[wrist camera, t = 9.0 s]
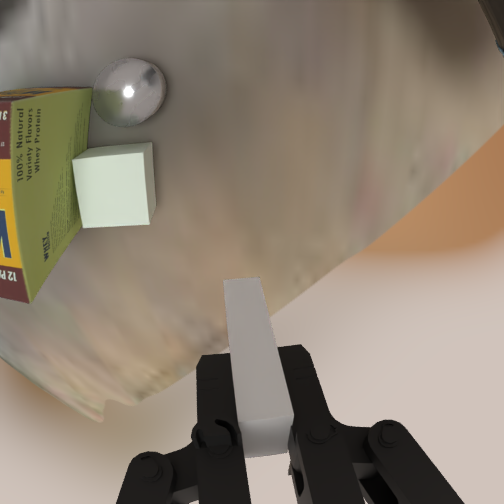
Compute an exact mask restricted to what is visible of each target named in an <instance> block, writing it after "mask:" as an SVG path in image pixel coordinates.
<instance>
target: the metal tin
mask: <svg viewBox="0 0 504 504" xmlns="http://www.w3.org/2000/svg"><path fill="white" fill-rule="evenodd" d="M165 96H166V81H165V78H164V75H163V74H162V72H161V71H160V69H159V68H158V67H156V66H155V65H154V64H152V63H150V62H147V61H143V60H140V59H135V58H124V59H120V60H117V61H114V62H112V63H111V64H109V65H108V66H106V67H105V68H104V69H103V70H102V71H101V73H100V74H99V75H98V77H97V79H96V81H95V83H94V87H93V92H92V99H93V104H94V107H95V110H96V112H97V113H98V115H99V116H100V117H101V118H102V119H103V120H104V121H106V122H107V123H109V124H111V125H114V126H118V127H129V126H134V125H136V124H139V123H141V122H142V121H144V120H146V119H147V118H149V117H150V116H152V115H153V114H154V113H155V112H156V111H157V110H158V109H159V108H160V107H161V105H162V103H163V102H164V99H165Z"/></svg>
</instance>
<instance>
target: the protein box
mask: <svg viewBox="0 0 504 504" xmlns="http://www.w3.org/2000/svg"><path fill="white" fill-rule="evenodd" d="M92 90H93V89H92V87H40V88H23V89H14V90H9V91H3V92H0V297H1V298H5V299H10V300H14V301H19V302H23V303H28V304H31V303H32V301H33V300H34V298H35V296H36V295H37V293H38V291H39V290H40V288H41V286H42V285H43V283H44V281H45V280H46V278H47V277H48V275H49V274H50V272H51V270H52V269H53V267H54V266H55V264H56V263H57V261H58V260H59V258H60V257H61V255H62V254H63V252H64V251H65V249H66V248H67V246H68V245H69V243H70V242H71V241H72V239H73V238H74V236H75V235H76V233H77V232H78V231H79V229H80V228H81V227H82V225H83V224H82V219H81V214H80V209H79V203H78V197H77V191H76V185H75V178H74V171H73V163H72V159H74V158H75V157H77V156H78V155H80V154H81V153H83V152H84V151H86V150H87V140H88V127H89V116H90V107H91V99H92Z"/></svg>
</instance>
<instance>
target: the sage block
mask: <svg viewBox="0 0 504 504" xmlns="http://www.w3.org/2000/svg"><path fill="white" fill-rule="evenodd" d="M72 163H73V171H74V178H75V185H76V191H77V197H78V203H79V209H80V214H81V219H82V224H83V228H93V227H110V226H130V225H150V222H151V219H152V216H153V213H154V211H155V208H156V195H155V182H154V167H153V150H152V142H147V143H134V144H123V145H113V146H103V147H95V148H89V149H87V150H86V151H84V152H83V153H81V154H80V155H78V156H77V157H75V158H74V159H72Z"/></svg>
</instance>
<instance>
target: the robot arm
mask: <svg viewBox="0 0 504 504" xmlns="http://www.w3.org/2000/svg"><path fill="white" fill-rule="evenodd" d="M478 1H479V3H480V5H481V7H482V9H483V11H484V13H485V15H486V18H487V20H488V22H489V24H490V26H491V28H492V31H493V33H494V35H495V38H496V40H495V41H496V44H497V47H498V49H499V51H500V52H501V53H502V55H503V57H504V0H478ZM223 285H224V296H225V308H226V318H227V329H228V339H229V348H230V353H225V354H212V355H202V356H201V358H200V360H199V362H198V364H197V366H196V379H197V424H196V425H195V426H194V428H193V429H192V434H191V438H192V442H191V443H190V444H189V445H187V446H186V447H184V448H182V449H181V450H177V451H174V452H171V453H168V454H165V455H162V454H160V453H158V452H149V451H148V452H144V453H140V454H139V455H137V456H136V457H134V458H133V459H132V461H131V463H130V464H129V466H128V469H127V472H126V475H125V478H124V481H123V484H122V487H121V490H120V493H119V496H118V499H117V502H116V504H189V503H190V502H193V501H196V500H199V504H251V499H250V492H249V485H248V478H247V472H246V465H245V458H251V457H260V456H268V455H276V454H282V453H287V451H288V450H289V455H290V459H291V461H290V465H289V470H288V475H292V479H293V484H294V489H295V493H296V498H297V503H298V504H365V501H364V499H365V500H366V502H367V503H368V504H464V502H463V501H462V500H461V499H460V497H459V496H458V495H457V493H456V492H455V491H454V490H453V488H452V487H451V485H450V484H449V483H448V482H447V480H446V479H445V478H444V476H443V475H442V474H441V473H440V471H439V470H438V469H437V467H436V466H435V465H434V464H433V463H432V461H431V460H430V459H429V457H428V456H427V455H426V453H425V452H424V451H423V450H422V448H421V447H420V446H419V444H418V443H417V442H416V441H415V439H414V438H413V437H412V435H411V434H410V433H409V432H408V430H407V429H406V428H405V427H404V426H403V425H402V424H401V423H399V422H397V421H394V420H383V421H379V422H377V423H376V424H375V425H373V426H372V427H353V426H347V425H344V424H341V423H340V422H338V421H337V420H335V419H334V418H333V416H332V415H331V413H330V411H329V409H328V406H327V403H326V400H325V397H324V394H323V391H322V388H321V385H320V382H319V380H318V377H317V374H316V370H315V368H314V364H313V362H312V359H311V356H310V353H308V351H307V350H306V349H305V348H304V347H303V346H302V345H301V344H300V345H292V346H284V347H277V345H276V341H275V337H274V333H273V329H272V325H271V321H270V317H269V313H268V309H267V305H266V301H265V297H264V293H263V289H262V285H261V281H260V277H251V278H240V279H228V280H223ZM363 497H364V498H363Z"/></svg>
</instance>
